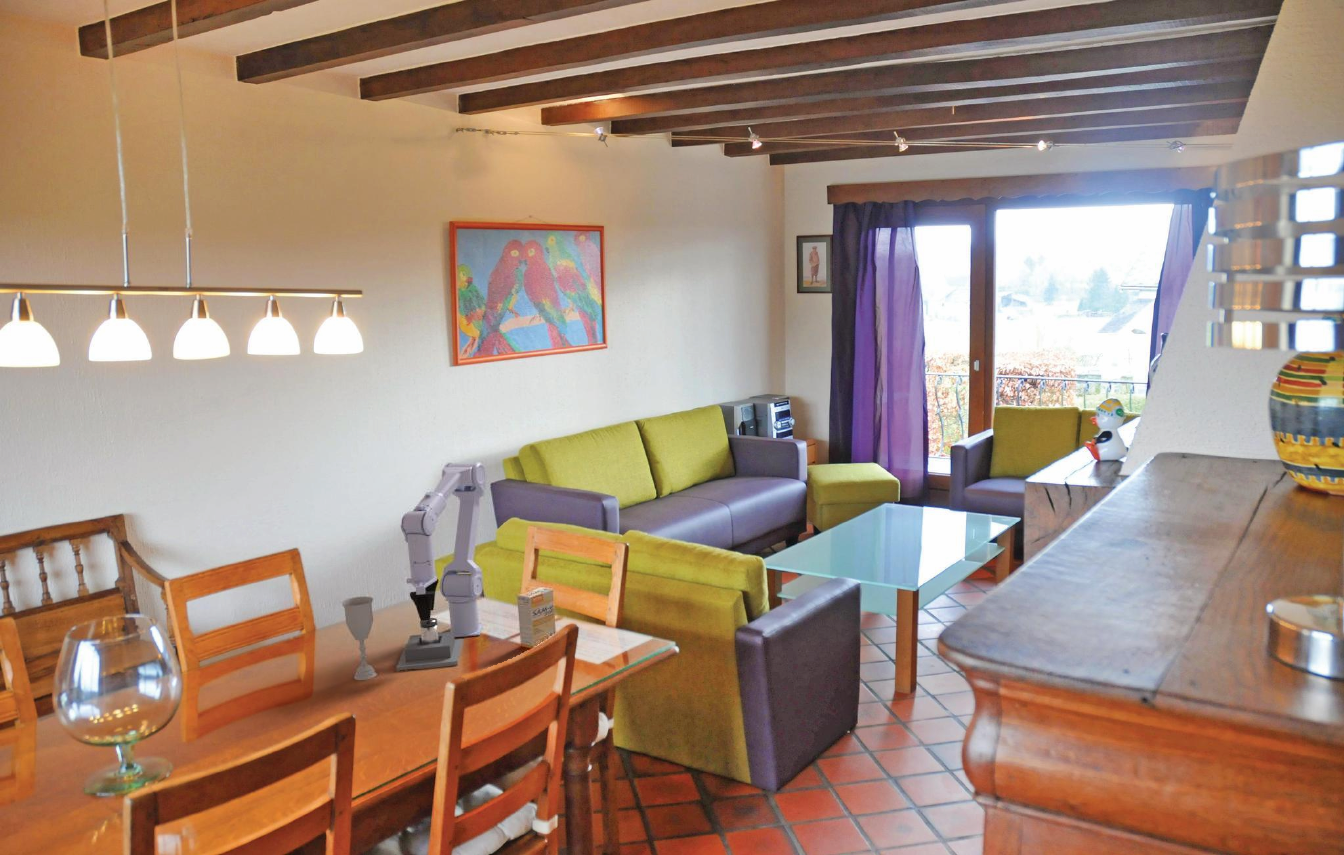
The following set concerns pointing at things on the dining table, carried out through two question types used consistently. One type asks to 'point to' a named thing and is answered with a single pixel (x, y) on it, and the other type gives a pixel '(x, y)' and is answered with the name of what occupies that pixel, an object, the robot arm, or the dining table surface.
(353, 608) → the chalice
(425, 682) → the dining table surface
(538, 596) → the supplement box
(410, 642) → the socket mount
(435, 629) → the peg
